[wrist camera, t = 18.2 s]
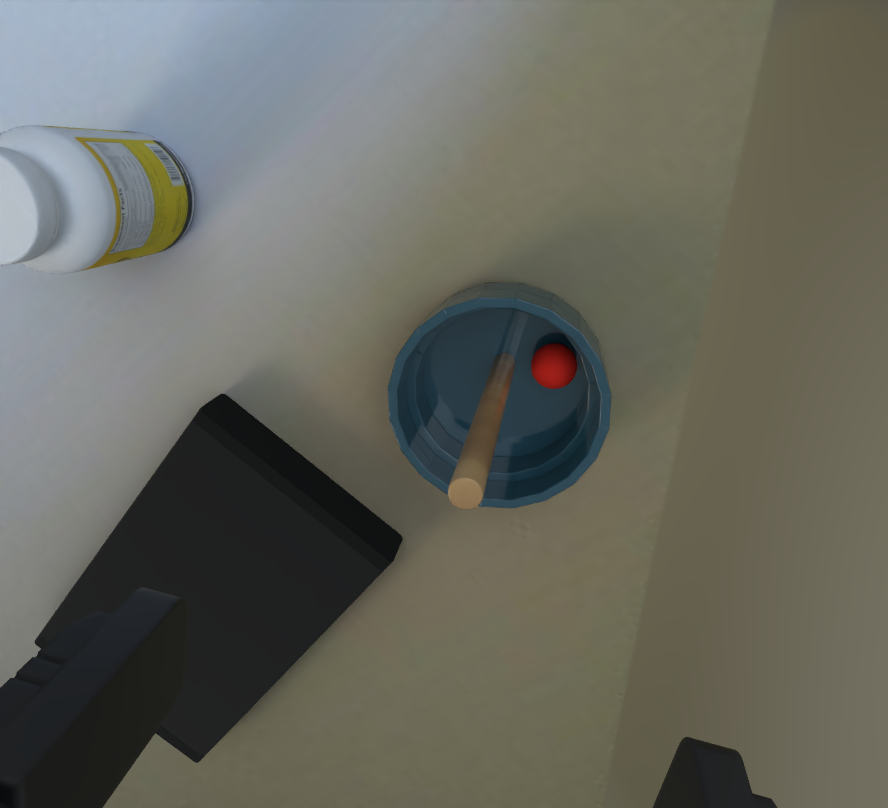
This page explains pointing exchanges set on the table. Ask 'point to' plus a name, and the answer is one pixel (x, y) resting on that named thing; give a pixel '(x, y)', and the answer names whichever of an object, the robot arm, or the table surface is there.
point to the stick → (482, 437)
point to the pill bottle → (88, 197)
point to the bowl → (528, 404)
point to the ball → (554, 366)
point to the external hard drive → (235, 564)
